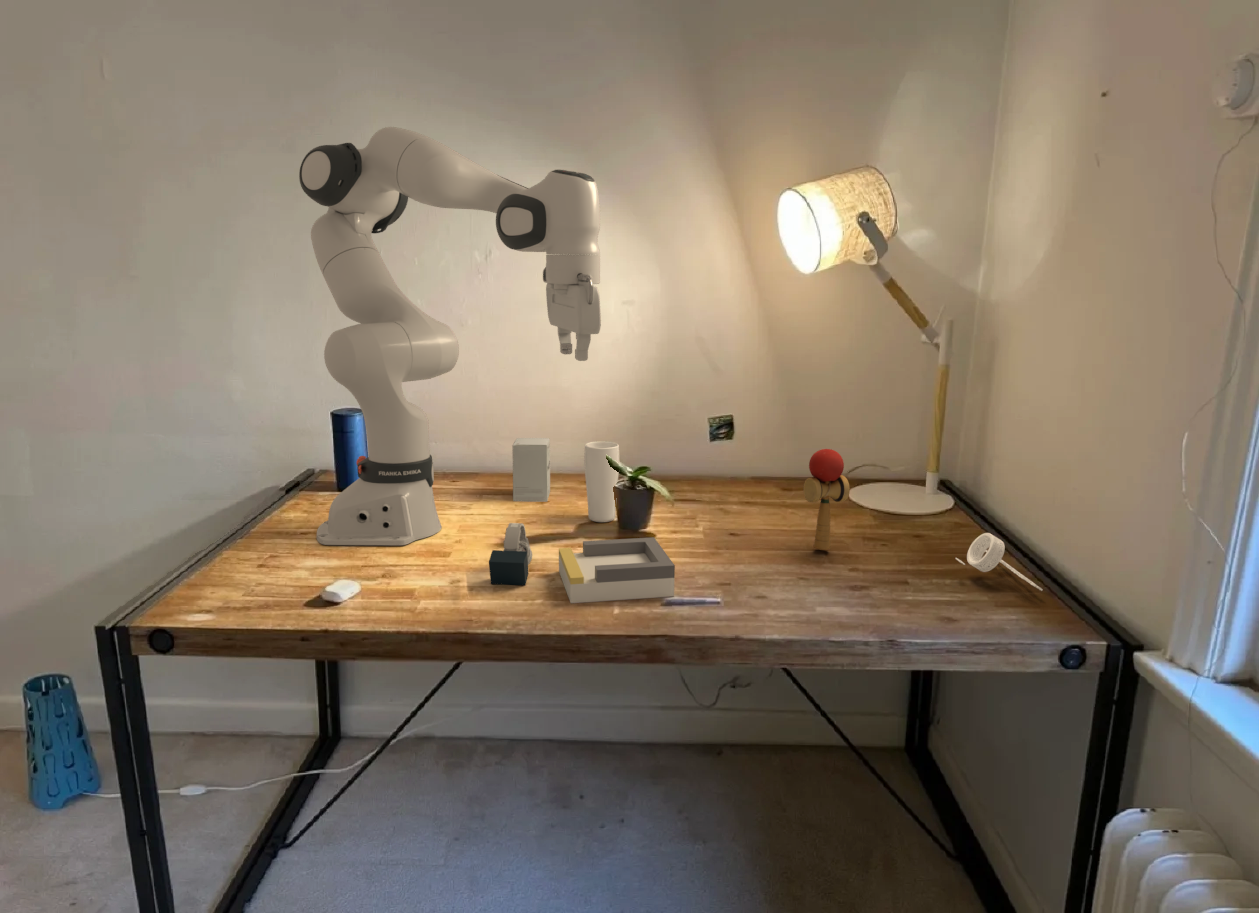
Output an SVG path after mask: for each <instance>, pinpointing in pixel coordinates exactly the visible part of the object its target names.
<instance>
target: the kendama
mask: <svg viewBox="0 0 1259 913" xmlns="http://www.w3.org/2000/svg"><path fill="white" fill-rule="evenodd" d="M808 464H809V465H808V469H809V472H810V474H811V476H812V477H808V478H807V479H805V481H804V484H803V489H802V490H803V494H804V498H805V500H806V501H807V502H808V503H817V502H819V501H820V503H819V507H818V513H817V520H816V529H815V536H814V542H813V549H816V550H817V551H818V550H820V551H828V550H830V549H831V508H830V506H831V505H830V498H831V499H832V500H833V501H834V502H836V503H841V502H842V503H843V502H845V501H847V499H849V496H850V492H851V491H850V490H851V489H850V483H849V480H848V478H846V476H845V475H843V472H844V468H845V462H844V460H843V457H842V456H841V454H840V453H839V452H838V451H836V450H835V449H832V448H831V449H830V448H822V449H819V450H817V451H816V452H814V453H813V454H812V455H811V457H810V458H809V462H808Z"/></svg>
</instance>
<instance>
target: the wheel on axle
mask: <svg viewBox="0 0 1259 913" xmlns="http://www.w3.org/2000/svg"><path fill="white" fill-rule="evenodd" d="M1005 548H1006V547H1005V542H1004V541H1002V539H1000V538H998V537H997V536H996V535H993V534H991V533H990V532H985V533H982V534H980V535H979V536H978V537H976V538H975V539H973V541H972V542H971V544H970V546H969V548H968V550H967V553H966V560H967V563H968V564H969V565H971V566H972V567H973V568H976V569H977V570H978V571H980V572H982V573H987V572H990V571H992V570H993V569H994V568H996V566H998V564H999V563H1001V564H1002V565H1003V566H1005V567H1006V568H1007V569H1009V570H1010V571H1011V572H1013V574H1015V575H1017V576H1018V577H1019V578H1021V579H1022V580H1024V581H1026V582H1027V583H1029V584H1030V585H1031V586H1033V587H1034V588H1036V589H1038V590H1039V591H1041V592H1042V591H1043V588H1042V587H1040V586H1038V585H1037V584H1036V583H1034V582H1033V581H1032V580H1031V579H1029V578H1028V577H1026V576H1025V575H1024V574H1022V573H1021V572H1019V571H1018V570H1017V569H1015V568H1014V567H1012V566H1011V565H1010V564H1008V563H1007V562H1006V561H1004V560H1003V559H1002V558H1003V556H1004V554H1005V551H1006V550H1005ZM955 560H956V561H958V562H959V563H960V564H962V565H964V566H966V563H965V562H963V561H962V559H959V558H957V557H955Z"/></svg>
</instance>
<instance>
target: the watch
mask: <svg viewBox="0 0 1259 913" xmlns="http://www.w3.org/2000/svg"><path fill="white" fill-rule="evenodd" d="M532 559H533V551H532V549H531V546H530V542H529V538H528V537H527V534H526V527H525V524H524V523H518V522H509V523H508V526H507V527H506V529H505V534H504V540H503V549H502V550H501V549H500V550H498V549H496V550H495V549H492V551H491V554H490V557H489V560H488V566H489V567H488V568H489V577H490V578H489V579H490V584H491V585H507V586H508V585H509V586H511V585H512V586H526V585H527V580H528V578H529V565H530V563H531V562H532Z"/></svg>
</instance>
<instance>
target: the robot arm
mask: <svg viewBox="0 0 1259 913" xmlns="http://www.w3.org/2000/svg"><path fill="white" fill-rule="evenodd" d="M301 161H302V162H301V164H300V167H299V175H298V176H299V177H298V178H299V180H298V181H299V184H300V188H301V189H302V191H303V192H304V193H305V195H307V196H308V197H309V198H310V199H312V200H313V201H314V202H315V203H317V204H319V205H320V206H322V207H327V208H328V210H327V211H326V213H324V214H322V215H320V217H318V218H317V219H316V220H315V221H314V223H313V225H312V227H311V228H310V229H311V230H310V239H311V243H312V247H313V251H314V256H315V259H316V261H317V264H318V267H319V269H320V271H321V274H322V276H323V278H324V280H325V282H326V284H327V286H328V289H329V290H330V293H331V295H332V298H333V299H334V301H335V304H336V305H337V308H338V309H339V311H340V312H341V313H342V315H344V316H345V317H346V318H348V319H350V320H352V321H354V322H356V323H358V324H354V325H350V326H346V327H343V328H340V329H338V330H334V331H333V332H332V333H331V334H330V335H329V337H328V339H327V340H326V343H325V346H324V351H323V352H324V354H323V355H324V357H323V358H324V364H325V367H326V369H327V371H328V373H329V374H330V376H331V377H332V378H333V379H334V380H335V381H336V383H338V384H340V385H341V386H343V387H344V388H345V389H347V391H349V392H350V393H351V395H352V396H353V397H354V398H355V400H356V402H357V403H358V405H359V407H360V410H361V412H362V414H363V418H364V424H365V431H366V432H365V433H366V440H367V443H366V444H367V452H368V456H367V457H366V456H365V455H360V456H358V458H357V459H356V467H357V469H356V471H357V477H358V478H357V479H356V480H355V481H354V482H352V483H351V484H350V485H348V486H347V487H346V488H345V489H343V490H342V491H341V492H339V493H338V495H337V496H335V498H334V499H333V500H332V502H331V504H330V507H329V512H328V516H327V520H326V521H324V522H322V523H321V524H320V525H319V526H318V528H317V530H316V540H317V542H318V543H319V544H321V545H326V546H406V545H408V544H410V543H413V542H414V541H417V540H421V539H426V538H428V537H431V536H434V535H436V534H437V533H439V532H440V531H441V529H442V527H443V526H442V524H441V522H440V518H439V515H438V511H437V508H436V502H435V497H434V491H433V485H434V480H435V478H434V476H435V475H434V474H435V472H434V462H433V456H432V455H431V454H430V450H431V449H430V430H429V428H430V427H429V419H428V416H427V414H426V413H425V411H424V410H423V409H421V407H419V405H416V404H414V403H412V402H409V401H408V400H407V399H406V396H405V394H404V391H403V387H402V386H403V383H408V382H416V381H424V380H431V379H433V378H436V377H440V376H441V375H445V374H447V373H449V372H450V371H452V370H453V369H454V368H455V367H456V365H457V362H458V359H459V354H460V346H459V341H458V340H459V339H458V338H457V336H456V333H455V332H454V331H453V330H452V328H451V327H450V326H449V325H447V323H444V322H441V321H439V320H436V319H435V318H433V317H432V316H430V315H428V314H426V313H425V312H424V311H422V309H421V308H419V307H418V306H417V305H416V304H414V302H413V301H411V300H410V299H409V298H408V297H407V296H406V295H405V293H403V291H401V289H400V288H399V286H398V285H397V283H396V282H395V280H394V278H393V277H392V275H391V273H390V271H389V269H388V267H387V266H386V264H385V262H384V260H383V258H382V256H381V254H380V252H379V250H378V248H377V246H376V244H375V243H374V242H375V241H374V240H373V236H372V234H380V233H383V232H384V231H386V230H387V228H388V227H389V226H391V225H392V224H395V222H396V221H397V220H398V219H400V217H401V216H402V214H403V213H404V211H405V210H406V208H407V205H408V201H409V199H411V200H413V201H415V202H419V203H420V204H423V205H426V206H427V205H428V206H431V207H436V208H439V209H441V208H442V209H453V210H454V209H457V210H475V211H476V210H477V211H483V212H484V211H485V212H488V213H489V212H490V213H495V228H496V232H497V236H498V237H499V239H500V241H501V243H503V245H505V246H506V247H507V248H509V249H511V250H514V251H518V252H525V253H526V252H527V253H545V260H546V262H545V266H544V268H543V270H542V281H543V283H545V284H546V286H545V294H546V296H545V298H546V307H547V308H546V309H547V317H548V322H549V323H550V325H551V326H554V327H557V336H558V341H559V350H560V351H559V352H560V353H561V354H562V355H571V354H573V343H572V336H571V334H572V333H574V334H575V340H576V348H574V359H575V360H576V361H579V362H585V361H586V362H587V361H588V359H589V347H590V344H591V337H592V336H591V335H598V334H599V333H600V331H601V326H602V324H601V323H602V322H601V321H602V320H601V316H602V315H601V300H600V299H601V298H600V292H599V289H598V287H597V286H596V285H599V284H600V283H601V252H600V247H599V243H598V242H599V240H598V238H599V233H600V231H601V230H600V229H601V206H600V193H599V189H598V184H597V181H596V180H595V179H594V178H593V177H592V176H591V175H589V174H587V173H583V172H577V171H572V170H567V169H554V170H550V171H549V172H548V173H547V175H546V176H545V177H544V179H542V180H541V181H540V182H538V183H537V184H534V185H532V186H531V187H527V186H524V185H522V184H519V183H516V182H514V181H512V180H510V179H508V178H505V177H503V176H502V175H498V174H496V173H494V172H492V171H491V170H490V169H487V168H486V167H485V166H481V165H480V164H479V163H476V162H474V161H473V160H471V159H470V158H467V157H466V156H464V155H462V154H460V153H459V152H457V151H455V150H454V149H452V148H451V147H448V146H447V145H445V144H443V143H441V142H440V141H438V140H436V139H434V138H431V137H429V136H427V135H425V134H423V133H419V132H416V131H413V130H410V129H406V128H402V127H395V126H387V127H386V126H385V127H382V128H381V129H378V130H377V131H376V132H375V133H374V134H373V135H372V136H371V138H370V139H369V141H368V143H367V145H366V146H365V147H363V148H357V147H356V146H355V145H354V144H353V143H352V142H345V143H344V142H343V143H340V144H324V145H319V146H316V147H314V148H312V149H311V150H309V152H307V153H306V155H305V156H304V158H303V159H302V160H301Z"/></svg>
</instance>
